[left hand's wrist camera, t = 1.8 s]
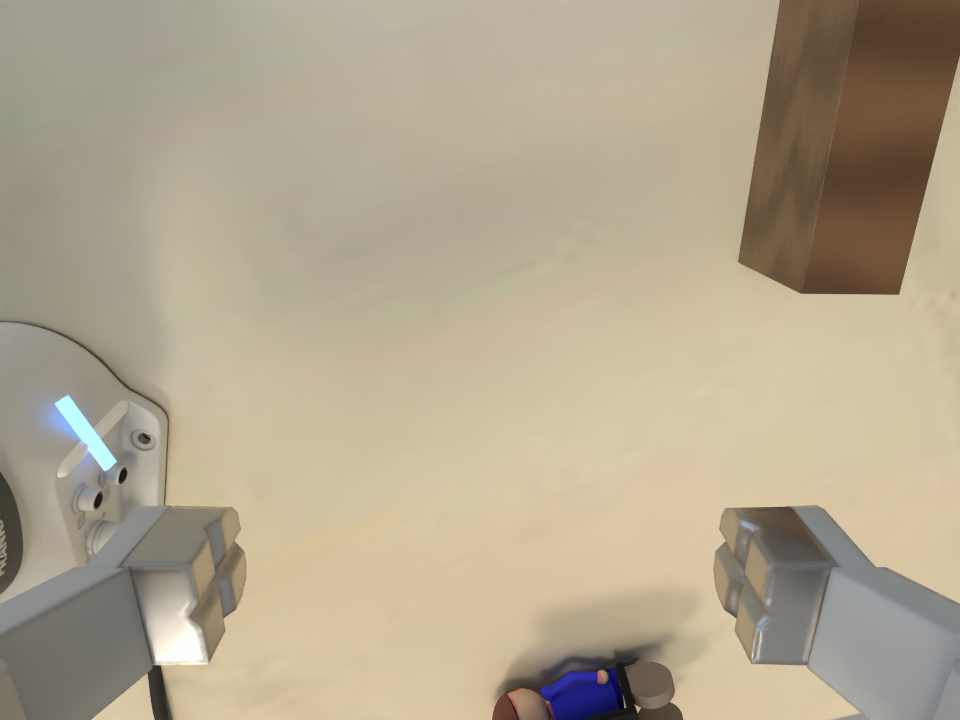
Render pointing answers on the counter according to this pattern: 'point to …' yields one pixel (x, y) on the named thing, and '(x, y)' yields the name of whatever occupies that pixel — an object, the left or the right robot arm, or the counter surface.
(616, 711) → the figurine character
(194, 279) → the counter surface
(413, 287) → the counter surface
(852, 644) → the left robot arm
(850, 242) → the bar
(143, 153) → the counter surface
